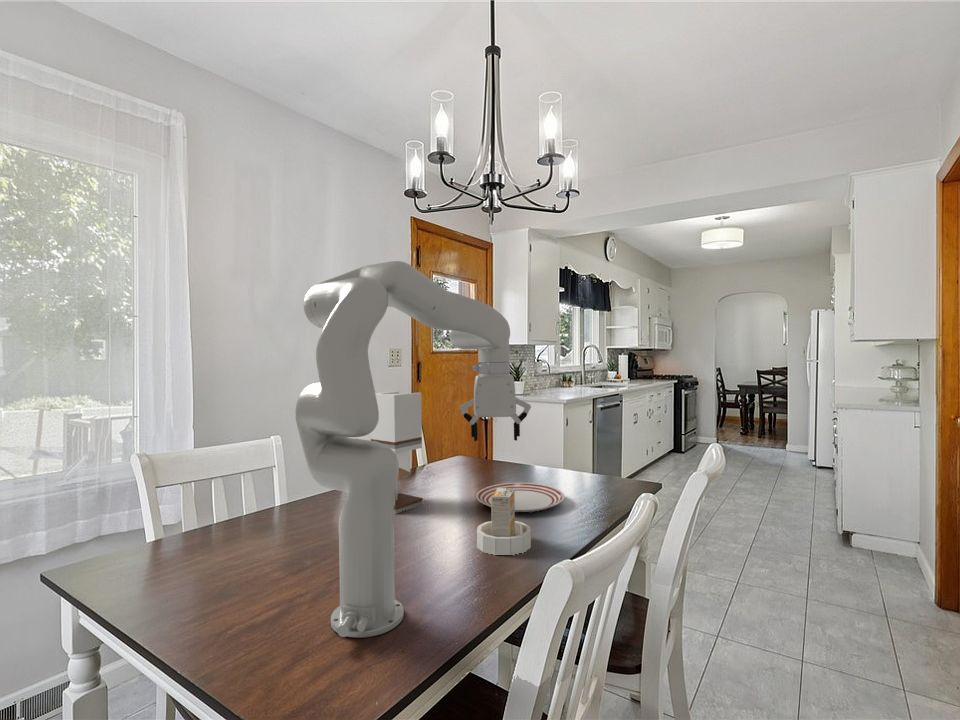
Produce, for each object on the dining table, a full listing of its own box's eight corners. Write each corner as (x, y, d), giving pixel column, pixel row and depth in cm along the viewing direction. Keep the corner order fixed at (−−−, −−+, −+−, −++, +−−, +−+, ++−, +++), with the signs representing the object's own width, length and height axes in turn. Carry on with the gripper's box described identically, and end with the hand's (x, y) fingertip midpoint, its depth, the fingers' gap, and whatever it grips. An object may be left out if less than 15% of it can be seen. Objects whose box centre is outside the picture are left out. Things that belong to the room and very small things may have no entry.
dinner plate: (555, 522, 140) (555, 510, 140) (463, 513, 149) (463, 502, 149) (571, 496, 166) (570, 485, 166) (491, 489, 175) (491, 479, 175)
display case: (395, 514, 148) (394, 395, 148) (371, 507, 154) (370, 393, 154) (422, 504, 157) (421, 392, 157) (398, 499, 164) (397, 391, 163)
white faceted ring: (531, 556, 116) (531, 538, 116) (475, 555, 117) (475, 538, 117) (529, 535, 129) (529, 520, 129) (479, 535, 130) (479, 519, 130)
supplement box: (511, 552, 119) (510, 497, 119) (491, 551, 120) (490, 496, 119) (515, 539, 127) (515, 487, 127) (497, 538, 128) (496, 487, 128)
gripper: (457, 371, 119) (458, 443, 119) (530, 369, 118) (532, 442, 118) (459, 369, 126) (461, 437, 127) (529, 368, 125) (530, 436, 126)
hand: (495, 439), depth 122 cm, fingers open, 9 cm apart
